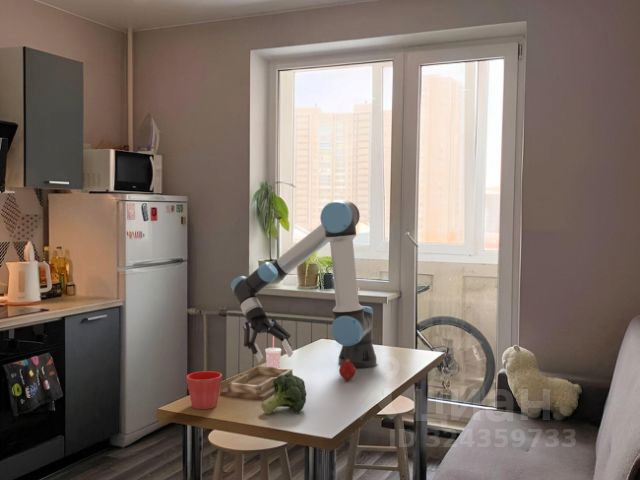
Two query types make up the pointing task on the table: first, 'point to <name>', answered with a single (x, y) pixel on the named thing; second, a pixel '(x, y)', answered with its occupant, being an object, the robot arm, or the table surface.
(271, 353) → the beverage cup
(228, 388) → the light brown wooden tray
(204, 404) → the flower pot
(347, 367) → the pomegranate
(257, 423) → the table surface
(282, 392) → the vegetable
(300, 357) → the table surface
